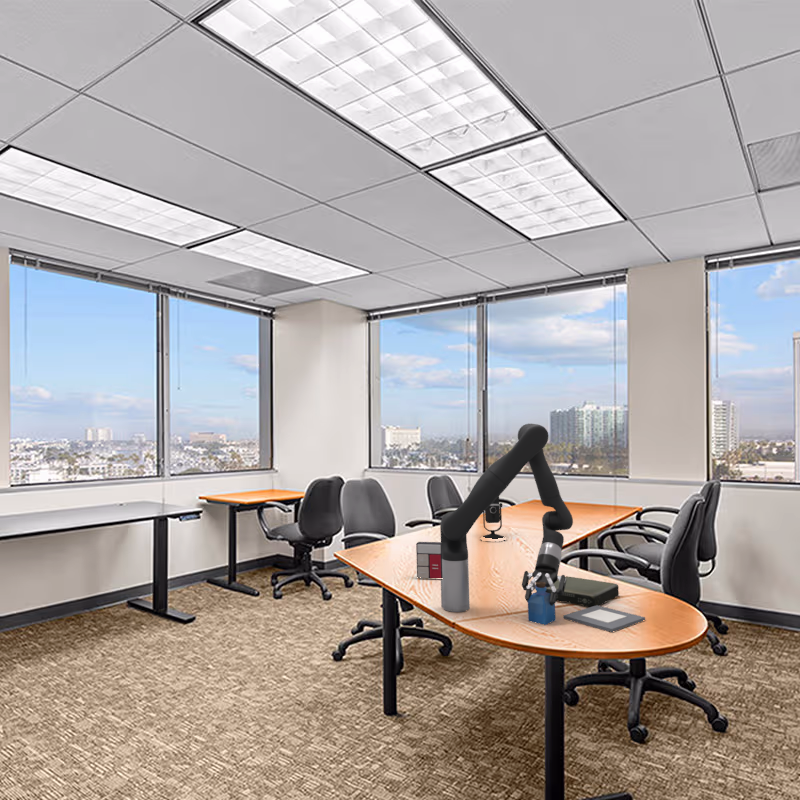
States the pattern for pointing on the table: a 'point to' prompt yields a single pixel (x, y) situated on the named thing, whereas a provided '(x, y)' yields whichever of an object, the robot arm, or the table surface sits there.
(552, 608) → the perfume bottle
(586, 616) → the mat
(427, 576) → the grey and red box
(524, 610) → the table surface
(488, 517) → the microphone
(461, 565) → the robot arm
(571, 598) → the network switch
